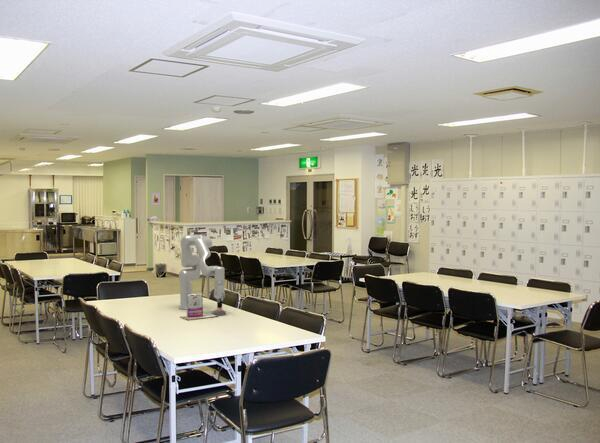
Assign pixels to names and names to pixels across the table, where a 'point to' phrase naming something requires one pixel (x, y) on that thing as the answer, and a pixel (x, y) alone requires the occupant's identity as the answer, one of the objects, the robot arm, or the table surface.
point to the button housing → (219, 313)
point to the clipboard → (206, 315)
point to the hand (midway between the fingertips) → (219, 307)
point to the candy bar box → (194, 305)
